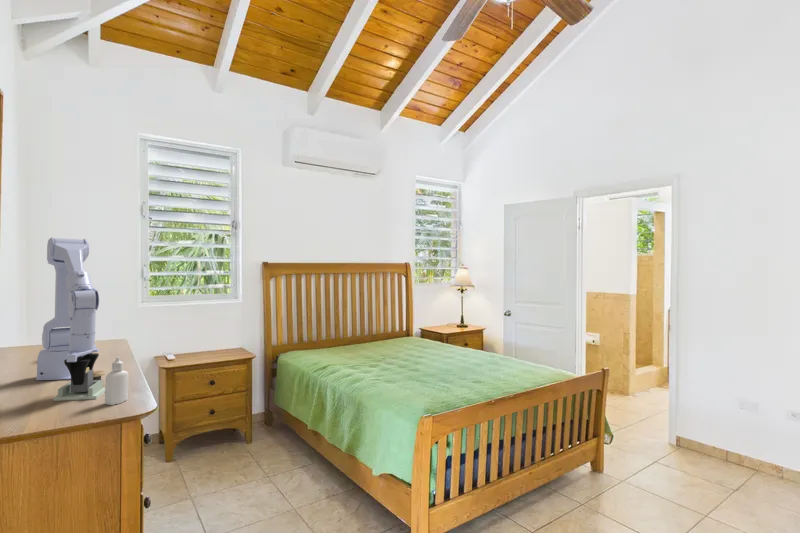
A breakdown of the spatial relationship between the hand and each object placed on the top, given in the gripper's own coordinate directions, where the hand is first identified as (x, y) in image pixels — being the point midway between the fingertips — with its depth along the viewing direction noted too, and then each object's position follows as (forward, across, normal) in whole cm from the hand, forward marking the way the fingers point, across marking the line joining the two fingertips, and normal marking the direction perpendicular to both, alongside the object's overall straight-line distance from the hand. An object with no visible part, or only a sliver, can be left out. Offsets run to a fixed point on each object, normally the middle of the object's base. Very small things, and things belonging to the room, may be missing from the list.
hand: (81, 382), depth 126 cm
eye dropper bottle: (+4, -8, -11) cm, 14 cm away
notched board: (+4, 0, 0) cm, 4 cm away
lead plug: (+2, 0, 0) cm, 2 cm away
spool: (+4, +10, 0) cm, 10 cm away
